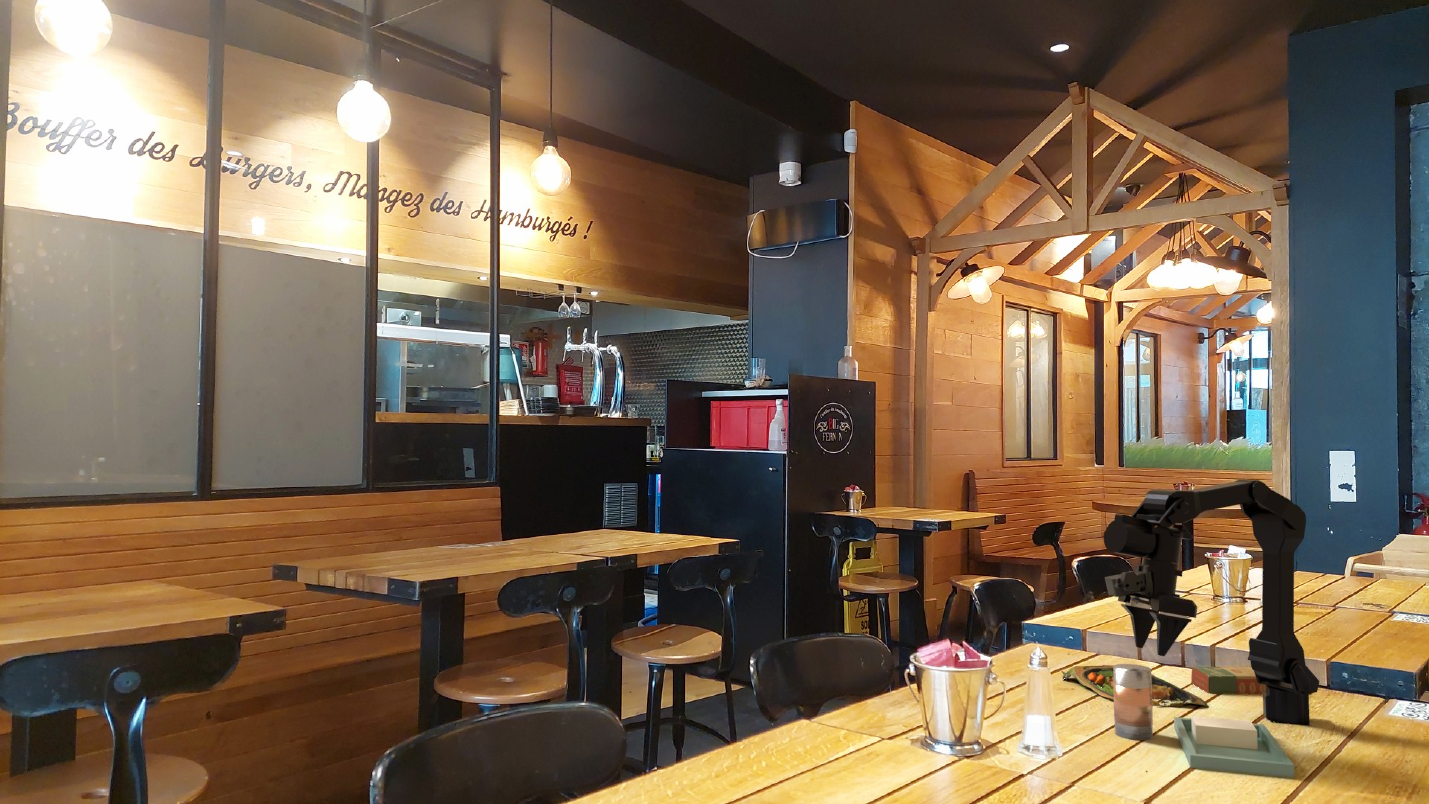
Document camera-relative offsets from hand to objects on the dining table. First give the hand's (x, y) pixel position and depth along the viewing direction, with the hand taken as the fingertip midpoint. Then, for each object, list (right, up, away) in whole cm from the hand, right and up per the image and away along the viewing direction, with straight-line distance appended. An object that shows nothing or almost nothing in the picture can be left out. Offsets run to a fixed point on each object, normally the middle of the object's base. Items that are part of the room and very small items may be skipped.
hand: (1149, 651), depth 165 cm
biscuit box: (+11, -14, -4) cm, 18 cm away
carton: (+33, -17, +32) cm, 50 cm away
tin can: (-3, -15, 0) cm, 15 cm away
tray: (+9, -14, -9) cm, 19 cm away
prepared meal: (+11, -17, +31) cm, 37 cm away
